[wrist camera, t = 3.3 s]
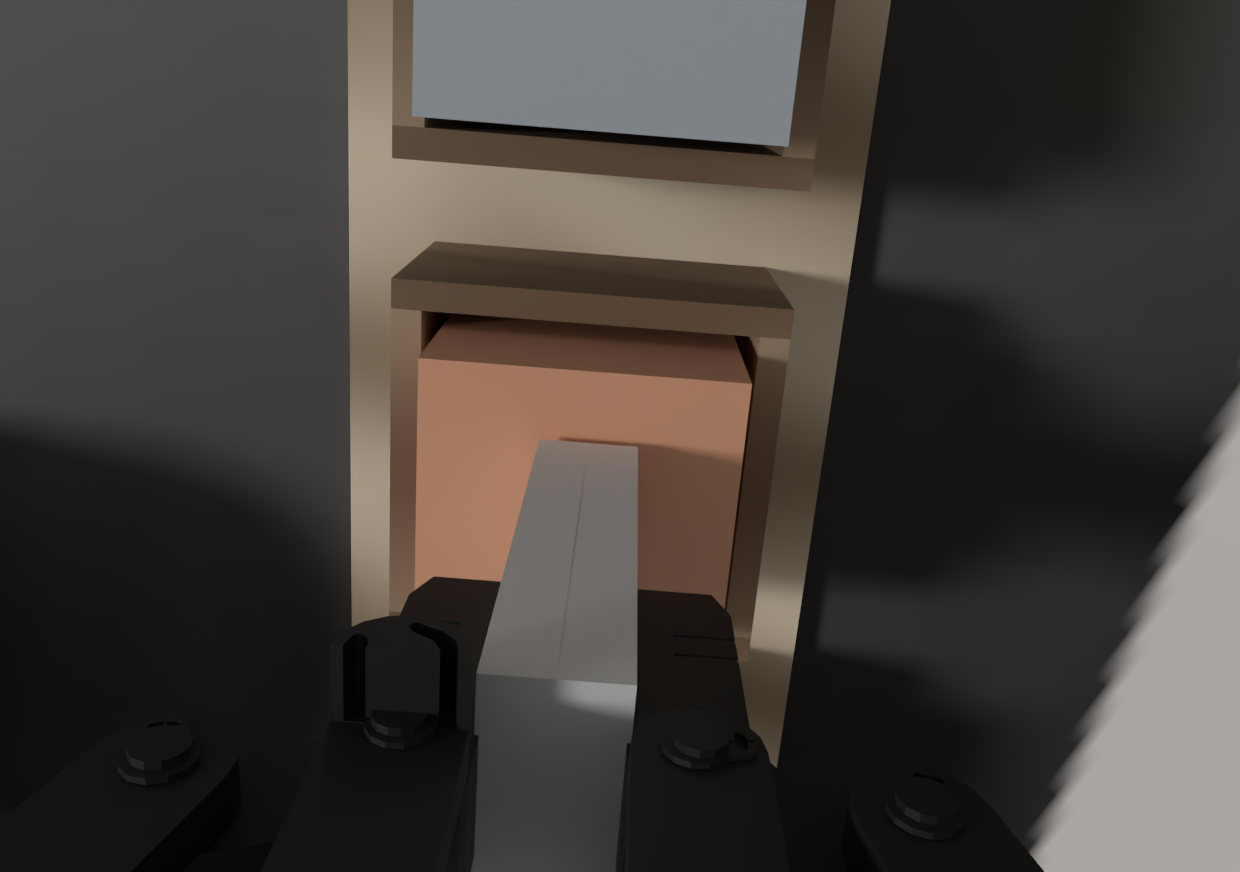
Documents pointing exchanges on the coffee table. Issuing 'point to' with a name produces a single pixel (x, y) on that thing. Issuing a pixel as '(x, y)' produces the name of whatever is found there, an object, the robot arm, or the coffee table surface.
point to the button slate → (612, 65)
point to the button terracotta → (579, 439)
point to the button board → (612, 286)
